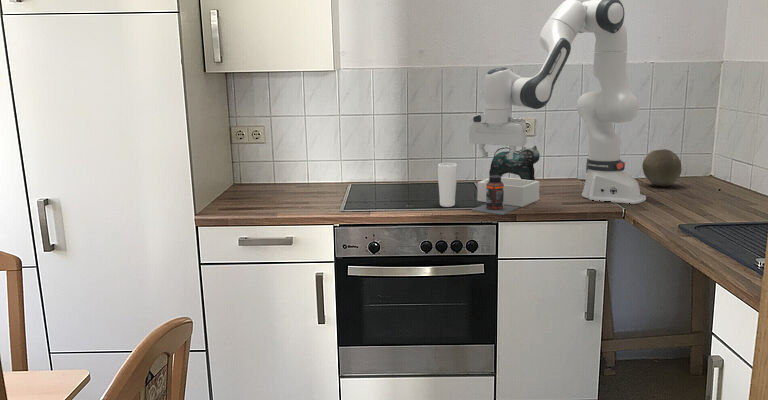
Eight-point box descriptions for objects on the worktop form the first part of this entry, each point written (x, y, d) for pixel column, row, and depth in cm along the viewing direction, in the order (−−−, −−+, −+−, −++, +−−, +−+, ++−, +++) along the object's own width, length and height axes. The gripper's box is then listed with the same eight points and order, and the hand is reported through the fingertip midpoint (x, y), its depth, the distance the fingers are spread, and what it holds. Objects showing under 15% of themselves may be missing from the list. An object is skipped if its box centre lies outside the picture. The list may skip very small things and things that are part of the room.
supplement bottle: (506, 208, 215) (507, 175, 212) (497, 211, 210) (498, 178, 208) (492, 205, 219) (492, 174, 216) (482, 208, 214) (483, 176, 212)
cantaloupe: (650, 182, 259) (653, 146, 256) (685, 186, 249) (688, 149, 246) (635, 186, 250) (637, 149, 247) (670, 191, 240) (673, 153, 236)
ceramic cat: (539, 190, 246) (541, 140, 241) (532, 193, 240) (534, 142, 236) (493, 185, 257) (494, 137, 253) (486, 188, 252) (487, 139, 248)
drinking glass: (455, 208, 217) (456, 165, 214) (436, 207, 219) (436, 165, 216) (457, 203, 224) (457, 162, 221) (438, 203, 225) (439, 162, 222)
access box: (538, 199, 229) (539, 181, 227) (522, 206, 218) (523, 187, 216) (495, 194, 239) (495, 176, 238) (477, 200, 228) (477, 182, 227)
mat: (518, 208, 215) (518, 207, 215) (503, 215, 206) (503, 214, 206) (488, 204, 222) (488, 203, 222) (471, 210, 213) (471, 209, 213)
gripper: (530, 117, 204) (529, 158, 207) (475, 115, 216) (475, 154, 219) (522, 119, 199) (521, 161, 202) (466, 117, 211) (466, 157, 214)
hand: (497, 158), depth 211 cm, fingers open, 8 cm apart
